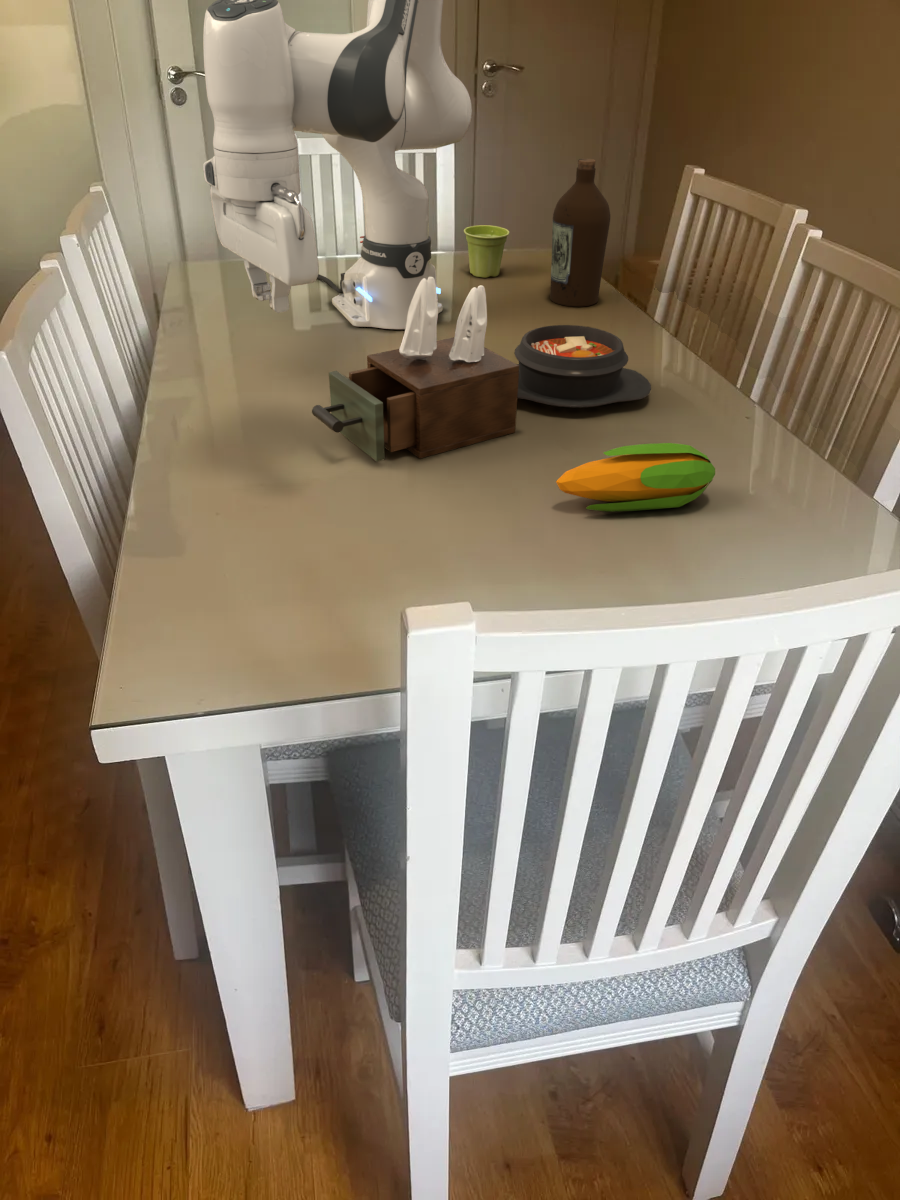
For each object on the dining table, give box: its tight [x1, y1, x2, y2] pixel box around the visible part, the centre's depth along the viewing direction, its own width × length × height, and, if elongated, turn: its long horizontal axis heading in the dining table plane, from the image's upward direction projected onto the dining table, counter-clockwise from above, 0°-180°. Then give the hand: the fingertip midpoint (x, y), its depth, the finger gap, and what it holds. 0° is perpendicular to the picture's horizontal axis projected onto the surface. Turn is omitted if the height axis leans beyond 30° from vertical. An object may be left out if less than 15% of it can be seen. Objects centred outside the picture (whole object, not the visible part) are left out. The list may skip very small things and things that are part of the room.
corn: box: [555, 442, 716, 513], centre depth 110 cm, size 7×8×20 cm
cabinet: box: [366, 336, 519, 459], centre depth 127 cm, size 16×14×10 cm
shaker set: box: [398, 277, 488, 362], centre depth 121 cm, size 12×4×11 cm, turn 99°
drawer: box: [311, 367, 416, 462], centre depth 123 cm, size 19×13×8 cm, turn 123°
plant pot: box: [463, 224, 510, 279], centre depth 189 cm, size 9×9×9 cm
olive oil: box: [549, 158, 611, 308], centre depth 171 cm, size 11×11×25 cm
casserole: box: [513, 324, 652, 409], centre depth 138 cm, size 25×19×8 cm
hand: (270, 304), depth 106 cm, fingers open, 3 cm apart
